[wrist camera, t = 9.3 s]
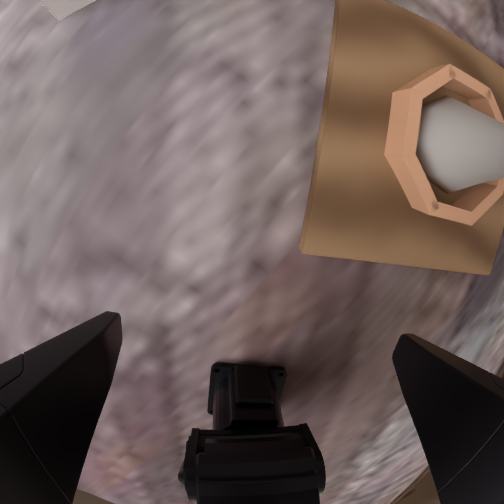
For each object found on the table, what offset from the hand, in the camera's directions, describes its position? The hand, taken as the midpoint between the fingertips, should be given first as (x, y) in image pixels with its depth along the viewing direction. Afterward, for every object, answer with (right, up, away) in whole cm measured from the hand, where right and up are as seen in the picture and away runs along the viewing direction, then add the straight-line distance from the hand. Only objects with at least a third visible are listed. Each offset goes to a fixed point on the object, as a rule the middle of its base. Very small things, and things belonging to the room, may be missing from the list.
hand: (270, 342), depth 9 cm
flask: (+14, +11, +10) cm, 20 cm away
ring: (+14, +11, +10) cm, 20 cm away
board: (+14, +11, +11) cm, 21 cm away
